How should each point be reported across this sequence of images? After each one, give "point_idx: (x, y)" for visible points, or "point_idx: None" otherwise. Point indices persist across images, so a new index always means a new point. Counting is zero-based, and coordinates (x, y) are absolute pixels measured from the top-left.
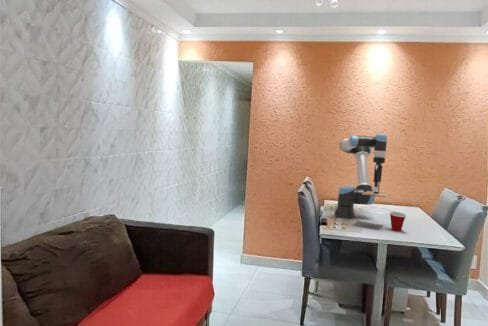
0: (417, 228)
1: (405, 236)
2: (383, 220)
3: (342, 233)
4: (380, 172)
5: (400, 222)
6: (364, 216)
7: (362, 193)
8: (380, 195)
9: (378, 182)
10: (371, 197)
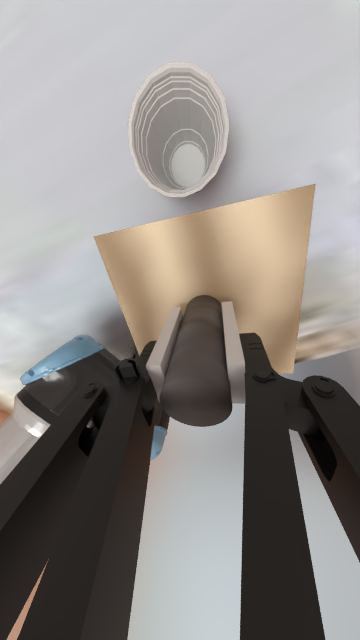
0: (57, 119)
1: (263, 64)
2: (82, 279)
3: None
4: (61, 622)
5: (203, 117)
6: (96, 334)
7: (291, 369)
8: (308, 237)
9: (242, 360)
10: (84, 352)
